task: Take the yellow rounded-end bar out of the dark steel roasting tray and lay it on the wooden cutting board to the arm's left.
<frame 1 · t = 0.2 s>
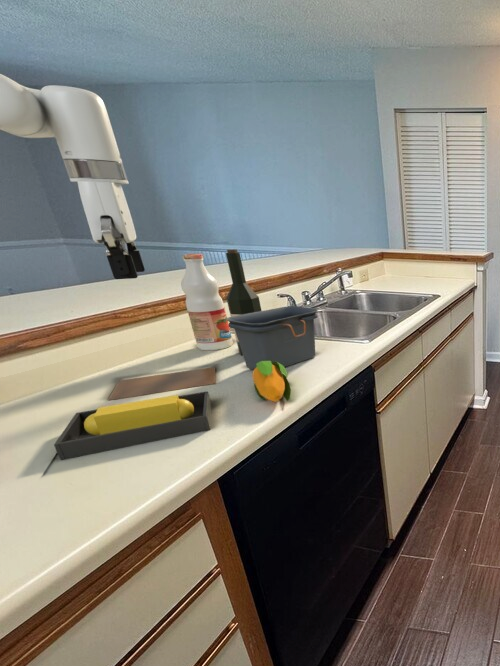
hand: (130, 275, 79), 29 cm above the countertop, tool pointing down, fingers open, 9 cm apart
fruit juice: (216, 347, 133), on the countertop
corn: (275, 396, 99), on the countertop
storage bin: (286, 363, 120), on the countertop
wine bottle: (254, 352, 129), on the countertop
board: (167, 383, 105), on the countertop
tray: (146, 430, 83), on the countertop
yellow rounded-end bar: (146, 428, 82), point 1 cm above the countertop, touching tray
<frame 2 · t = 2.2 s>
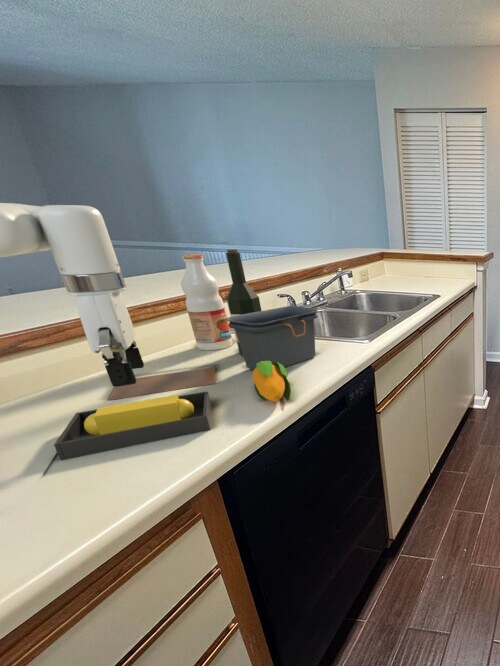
hand: (129, 376, 78), 11 cm above the countertop, tool pointing down, fingers open, 9 cm apart
nothing on the countertop moved.
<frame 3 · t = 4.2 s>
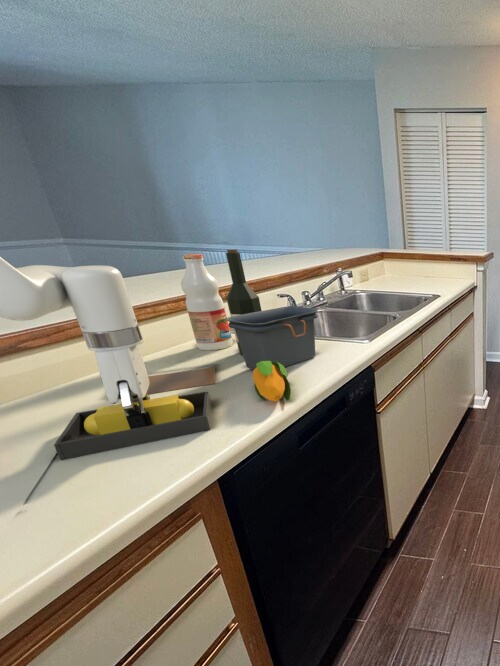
hand: (145, 426, 82), 1 cm above the countertop, tool pointing down, fingers closed on yellow rounded-end bar, 4 cm apart
yellow rounded-end bar: (146, 428, 82), point 1 cm above the countertop, touching gripper, tray
everything else where it was.
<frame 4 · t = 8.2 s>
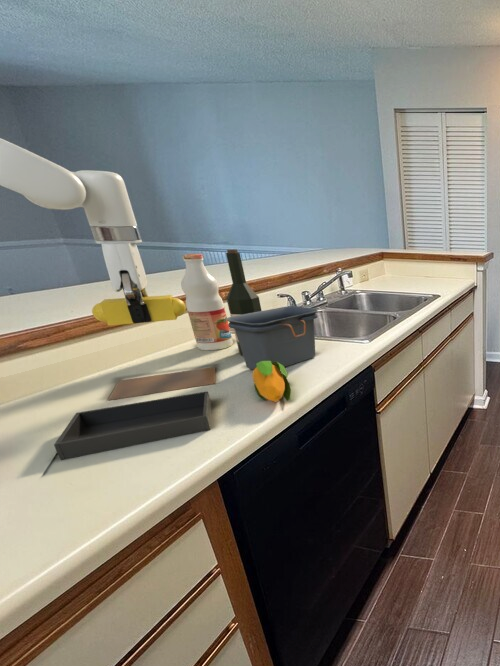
hand: (143, 319, 96), 17 cm above the countertop, tool pointing down, fingers closed on yellow rounded-end bar, 4 cm apart
yellow rounded-end bar: (144, 320, 96), point 17 cm above the countertop, touching gripper
everything else where it was.
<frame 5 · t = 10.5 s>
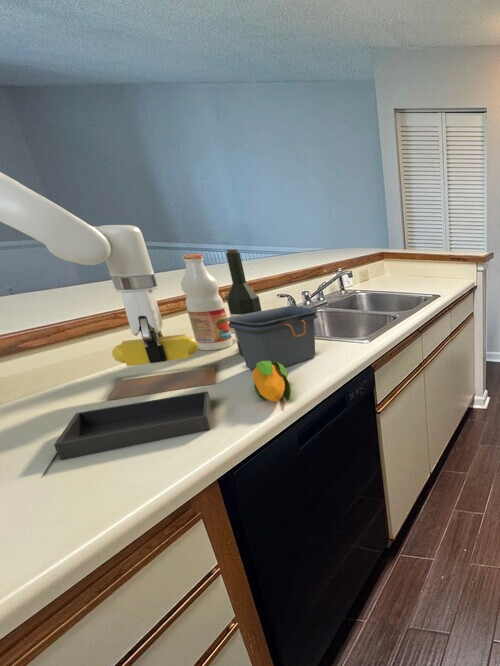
hand: (159, 358, 102), 7 cm above the countertop, tool pointing down, fingers closed on yellow rounded-end bar, 4 cm apart
yellow rounded-end bar: (160, 359, 103), point 6 cm above the countertop, touching gripper
everything else where it was.
when the fingers open (1 cm above the countertop, at t = 12.2 s): yellow rounded-end bar stays where it is, resting on board.
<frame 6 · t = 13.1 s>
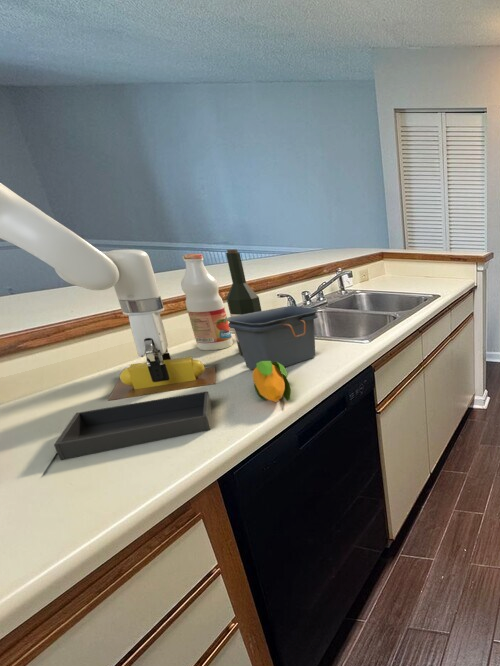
hand: (163, 374, 104), 2 cm above the countertop, tool pointing down, fingers open, 9 cm apart
yellow rounded-end bar: (167, 381, 105), resting on board
everything else where it was.
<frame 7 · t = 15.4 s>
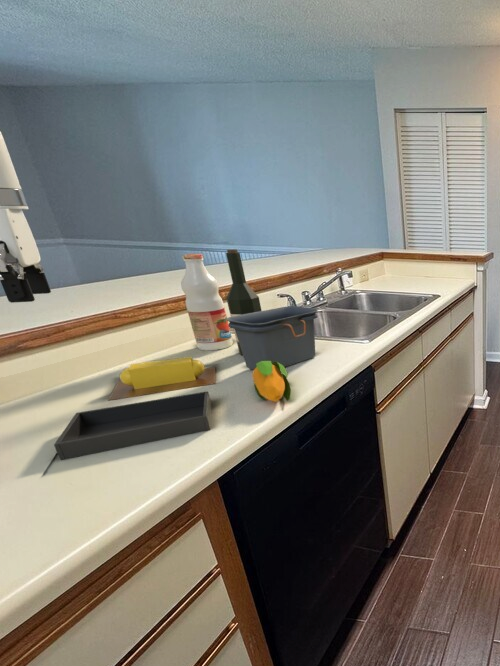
hand: (31, 297, 80), 24 cm above the countertop, tool pointing down, fingers open, 9 cm apart
nothing on the countertop moved.
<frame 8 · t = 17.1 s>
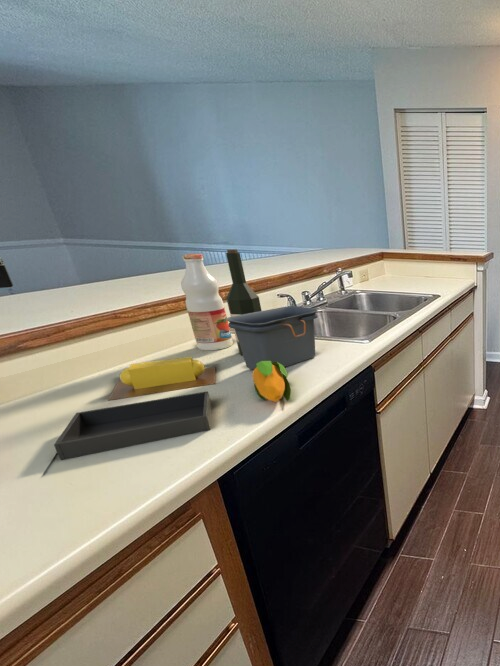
nothing on the countertop moved.
at the end: yellow rounded-end bar inside the target area on the board (0.1 cm from its centre), point 0.4 cm above the board's base; yellow rounded-end bar touching board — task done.
